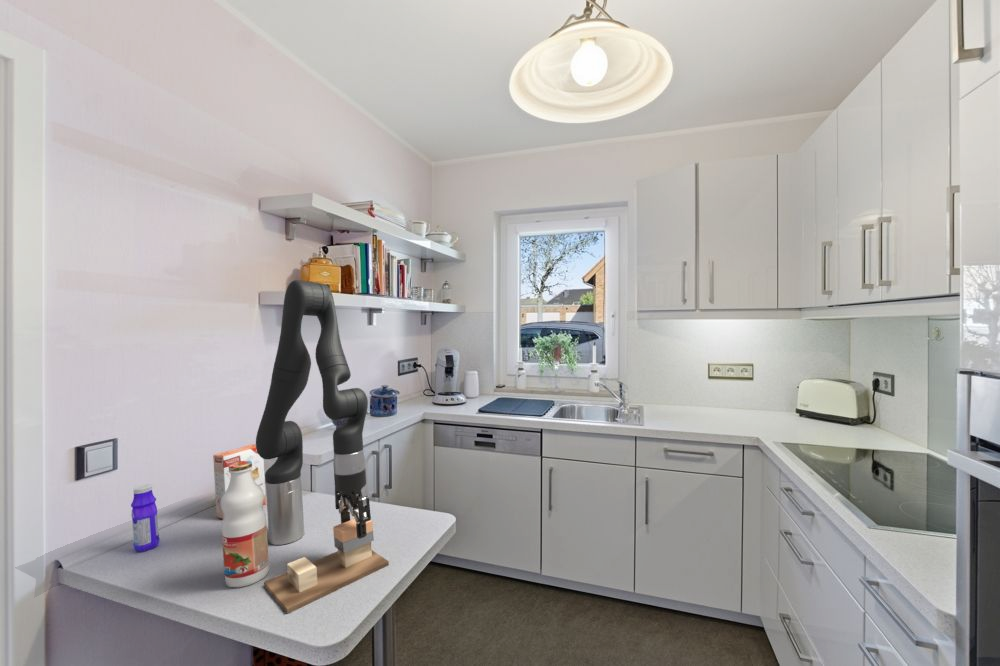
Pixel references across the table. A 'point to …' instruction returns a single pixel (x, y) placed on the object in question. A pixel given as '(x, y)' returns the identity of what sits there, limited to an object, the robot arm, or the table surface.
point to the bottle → (144, 519)
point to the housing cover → (349, 530)
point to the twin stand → (322, 576)
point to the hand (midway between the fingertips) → (353, 532)
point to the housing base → (353, 542)
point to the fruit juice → (244, 528)
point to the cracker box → (224, 476)
